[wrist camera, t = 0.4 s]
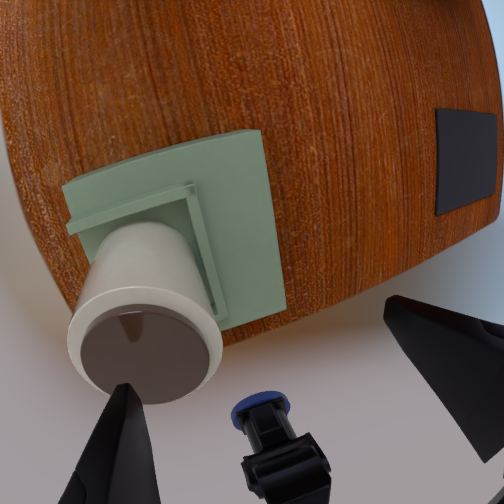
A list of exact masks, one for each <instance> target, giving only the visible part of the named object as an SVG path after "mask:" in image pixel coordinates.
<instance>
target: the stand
mask: <svg viewBox="0 0 504 504" xmlns="http://www.w3.org/2000/svg"><path fill="white" fill-rule="evenodd" d="M62 190H63V193H64V196H65V200H66V203H67V206H68V208H69V211H70V214H71V217H72V218H71V220H70V221H69V222H68V223H67V224H66V228H67V230H68V233H69V235H73V234H76V233H78V236H79V239H80V241H81V244H82V246H83V249H84V251H85V254H86V256H87V258H88V261H89V263H90V265H91V263H92V261H93V258H94V256H95V253H96V251H97V249H98V247H99V245H100V243H101V241H102V240H103V239H104V237H105V236H106V235H107V234H108V233H109V232H110V231H111V230H113V229H114V228H116V227H117V226H119V225H121V224H123V223H126V222H129V221H133V220H140V219H147V220H155V221H159V222H162V223H165V224H167V225H169V226H171V227H173V228H174V229H176V230H177V231H178V232H180V233H181V234H182V235H183V236H184V237H185V238H186V240H187V241H188V242H189V244H190V246H191V248H192V250H193V252H194V255H195V258H196V261H197V264H198V268H199V271H200V274H201V277H202V280H203V283H204V286H205V289H206V292H207V295H208V298H209V301H210V304H211V307H212V310H213V313H214V315H215V318H216V321H217V324H218V327H219V330H220V331H223V330H227V329H230V328H233V327H236V326H239V325H242V324H245V323H248V322H251V321H254V320H257V319H260V318H263V317H266V316H268V315H271V314H274V313H277V312H280V311H283V310H285V309H287V306H286V299H285V291H284V283H283V276H282V268H281V261H280V254H279V246H278V239H277V232H276V225H275V219H274V212H273V205H272V199H271V192H270V186H269V179H268V173H267V166H266V160H265V154H264V148H263V142H262V136H261V131H260V130H251V129H243V130H237V131H232V132H227V133H223V134H218V135H213V136H209V137H204V138H200V139H196V140H192V141H188V142H184V143H180V144H176V145H172V146H169V147H165V148H161V149H158V150H154V151H151V152H148V153H144V154H141V155H138V156H134V157H131V158H128V159H125V160H122V161H119V162H116V163H113V164H110V165H107V166H104V167H101V168H99V169H96V170H93V171H90V172H88V173H85V174H82V175H80V176H77V177H75V178H74V179H72V180H71V181H69V182H68V183H66V184H65V185H63V186H62Z"/></svg>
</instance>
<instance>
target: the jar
mask: <svg viewBox="0 0 504 504" xmlns="http://www.w3.org/2000/svg"><path fill="white" fill-rule="evenodd" d="M67 346H68V351H69V355H70V358H71V360H72V362H73V364H74V366H75V368H76V369H77V371H78V372H79V373H80V374H81V376H82V377H83V378H84V379H85V380H86V381H87V382H89V383H90V384H91V385H92V386H93V387H95V388H96V389H98V390H100V391H101V392H103V393H105V394H107V395H109V396H111V395H112V393H113V391H114V389H115V387H116V386H117V385H118V384H123V383H130V384H131V385H132V387H133V388H134V390H135V391H136V393H137V394H138V396H139V397H140V399H141V402H142V404H145V405H152V404H161V403H167V402H171V401H174V400H177V399H180V398H183V397H185V396H187V395H190V394H191V393H193V392H195V391H197V390H198V389H200V388H201V387H202V386H203V385H205V384H206V383H207V382H208V381H209V380H210V379H211V377H212V376H213V375H214V374H215V372H216V370H217V369H218V367H219V365H220V362H221V358H222V354H223V340H222V336H221V332H220V330H219V327H218V324H217V321H216V318H215V315H214V313H213V310H212V307H211V304H210V301H209V298H208V295H207V292H206V289H205V286H204V283H203V280H202V277H201V274H200V271H199V268H198V264H197V261H196V258H195V255H194V252H193V250H192V248H191V246H190V244H189V242H188V241H187V240H186V238H185V237H184V236H183V235H182V234H181V233H180V232H178V231H177V230H176V229H174V228H173V227H171V226H169V225H167V224H165V223H162V222H159V221H155V220H147V219H140V220H133V221H129V222H126V223H123V224H121V225H119V226H117V227H116V228H114V229H113V230H111V231H110V232H109V233H108V234H107V235H106V236H105V237H104V239H103V240H102V241H101V243H100V245H99V247H98V249H97V251H96V253H95V256H94V258H93V261H92V263H91V266H90V268H89V271H88V273H87V276H86V278H85V281H84V284H83V286H82V289H81V292H80V295H79V297H78V300H77V303H76V306H75V309H74V312H73V315H72V318H71V322H70V325H69V329H68V333H67Z"/></svg>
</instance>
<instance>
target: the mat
mask: <svg viewBox="0 0 504 504" xmlns="http://www.w3.org/2000/svg"><path fill="white" fill-rule="evenodd" d="M435 113H436V129H437V191H436V208H435V215H436V216H438V215H440V214H443V213H446V212H448V211H451V210H454V209H456V208H459V207H461V206H464V205H467V204H469V203H472V202H474V201H477V200H480V199H482V198H485V197H487V196H490V195H492V194H495V183H496V169H497V115H495V114H488V113H480V112H472V111H462V110H449V109H435Z"/></svg>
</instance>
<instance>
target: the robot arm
mask: <svg viewBox="0 0 504 504" xmlns="http://www.w3.org/2000/svg"><path fill="white" fill-rule="evenodd" d="M383 318H384V321H385V323H386V325H387V326H388V328H389V329H390V331H391V332H392V334H393V336H394V337H395V338H396V340H397V342H398V343H399V345H400V346H401V348H402V350H403V351H404V353H405V354H406V355H407V357H408V358H409V359H410V360H411V362H412V363H413V364H414V366H415V367H416V368H417V369H418V371H419V372H420V373H421V375H422V376H423V377H424V379H425V380H426V381H427V383H428V384H429V385H430V387H431V388H432V389H433V391H434V392H435V393H436V395H437V396H438V397H439V399H440V400H441V402H442V403H443V404H444V406H445V407H446V409H447V410H448V411H449V413H450V414H451V415H452V417H453V418H454V420H455V421H456V423H457V424H458V426H459V427H460V429H461V430H462V431H463V433H464V434H465V436H466V437H467V439H468V440H469V442H470V443H471V445H472V446H473V448H474V449H475V451H476V452H477V454H478V455H479V457H480V458H481V460H482V461H483V462H484V463H486V462H487V461H488V460H490V459H491V458H492V457H493V456H494V455H495V454H497V453H498V452H499V451H500V450H501V449H502V448H503V447H504V325H500V324H495V323H491V322H488V321H485V320H481V319H478V318H474V317H471V316H468V315H464V314H461V313H457V312H454V311H450V310H447V309H444V308H440V307H437V306H433V305H430V304H426V303H423V302H419V301H416V300H413V299H409V298H406V297H403V296H399V295H393V296H391V297H389V298H387V300H386V302H385V308H384V315H383ZM235 415H236V418H237V420H238V422H239V424H240V427H241V429H242V431H243V433H244V435H247V437H248V439H249V442H250V444H251V447H252V449H253V452H254V454H253V455H249V456H244V457H243V459H244V461H243V462H242V463H241V465H242V468H243V471H244V474H245V478H246V482H247V486H248V489H249V491H251V492H254V493H255V494H256V495H257V496H258V497H259V499H263V498H265V500H266V502H267V504H329V499H330V491H331V477H330V475H329V472H331V468H330V465H329V462H328V461H327V458H326V456H325V455H324V453H323V452H322V450H321V449H320V447H319V446H318V444H317V443H316V441H315V440H314V439H313V437H312V436H311V434H310V433H309V432H308V433H306V434H305V435H303V436H300V437H298V438H297V436H296V434H295V432H294V430H293V428H292V426H291V424H290V422H289V421H288V418H287V412H286V406H285V400H284V398H283V397H282V396H280V397H277V398H275V399H272V400H269V401H267V402H264V403H261V404H258V405H255V406H252V407H250V408H247V409H244V410H240V411H238V412H236V413H235ZM75 470H76V471H74V472H73V474H72V476H71V479H70V481H69V483H68V485H67V487H66V489H65V491H64V493H63V495H62V497H61V498H60V500H59V502H58V504H161V501H160V497H159V491H158V486H157V480H156V474H155V467H154V461H153V454H152V447H151V442H150V437H149V433H148V429H147V425H146V420H145V416H144V411H143V406H142V402H141V399H140V397H139V396H138V394H137V393H136V391H135V390H134V388H133V387H132V385H131V384H130V383H123V384H118V385H117V386H116V387H115V389H114V391H113V393H112V395H111V397H110V399H109V401H108V403H107V405H106V406H105V409H104V410H103V412H102V414H101V416H100V418H99V420H98V422H97V424H96V426H95V428H94V430H93V432H92V434H91V436H90V438H89V440H88V442H87V444H86V447H85V449H84V451H83V453H82V455H81V457H80V459H79V461H78V463H77V465H76V468H75ZM503 478H504V476H503ZM488 504H504V487H503V488H502V489H501V490H500V491H499V492H498V493H497V495H496V496H495V497H494V498H493V499H492V500H491V501H490V502H489V503H488Z"/></svg>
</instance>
